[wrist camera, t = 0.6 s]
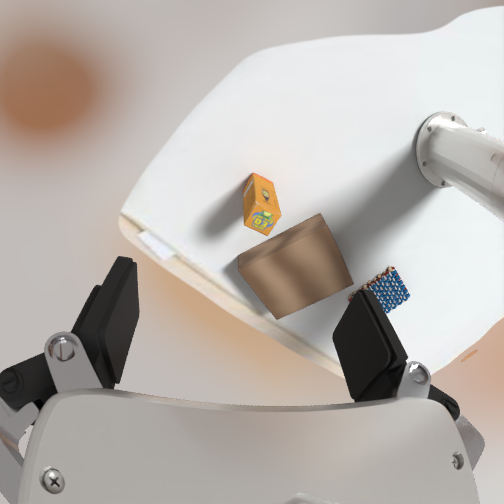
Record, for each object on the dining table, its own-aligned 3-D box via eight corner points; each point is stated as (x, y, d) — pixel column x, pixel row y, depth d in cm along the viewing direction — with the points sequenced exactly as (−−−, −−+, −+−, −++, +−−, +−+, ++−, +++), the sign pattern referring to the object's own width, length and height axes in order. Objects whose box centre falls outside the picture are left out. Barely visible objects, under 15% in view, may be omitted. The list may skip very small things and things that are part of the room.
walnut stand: (320, 213, 40) (327, 225, 37) (346, 269, 46) (353, 283, 43) (238, 255, 44) (238, 270, 40) (274, 303, 49) (276, 319, 46)
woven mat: (344, 295, 50) (347, 302, 48) (390, 261, 46) (395, 268, 44) (367, 320, 54) (370, 327, 52) (408, 292, 51) (412, 298, 49)
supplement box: (240, 192, 38) (240, 225, 30) (252, 171, 37) (256, 198, 28) (261, 202, 39) (268, 237, 31) (274, 182, 38) (284, 212, 29)
